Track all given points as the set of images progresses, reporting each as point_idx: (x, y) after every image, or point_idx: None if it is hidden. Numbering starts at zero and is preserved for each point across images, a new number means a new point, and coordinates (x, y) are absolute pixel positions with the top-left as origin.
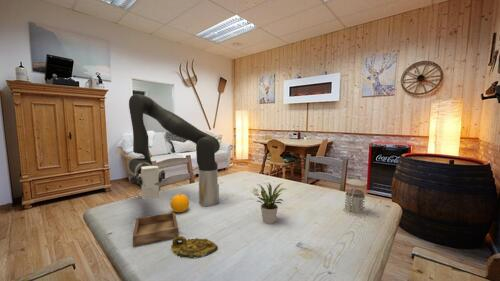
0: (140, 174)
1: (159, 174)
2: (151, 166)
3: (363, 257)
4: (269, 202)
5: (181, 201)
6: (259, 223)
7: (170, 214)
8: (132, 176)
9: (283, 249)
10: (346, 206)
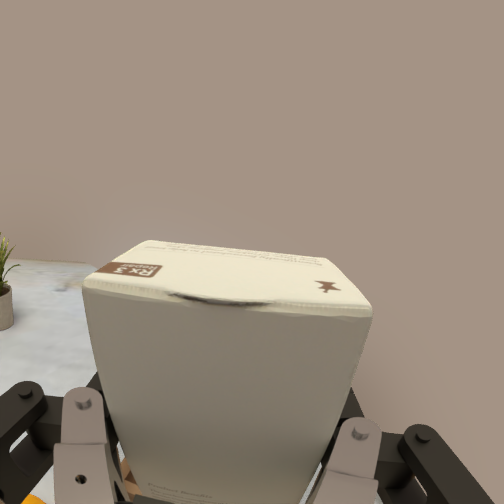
0: (352, 476)
1: (88, 391)
2: (201, 262)
3: (60, 264)
4: (17, 265)
5: (30, 495)
6: (17, 330)
7: (133, 485)
8: (441, 459)
9: (81, 296)
10: None
